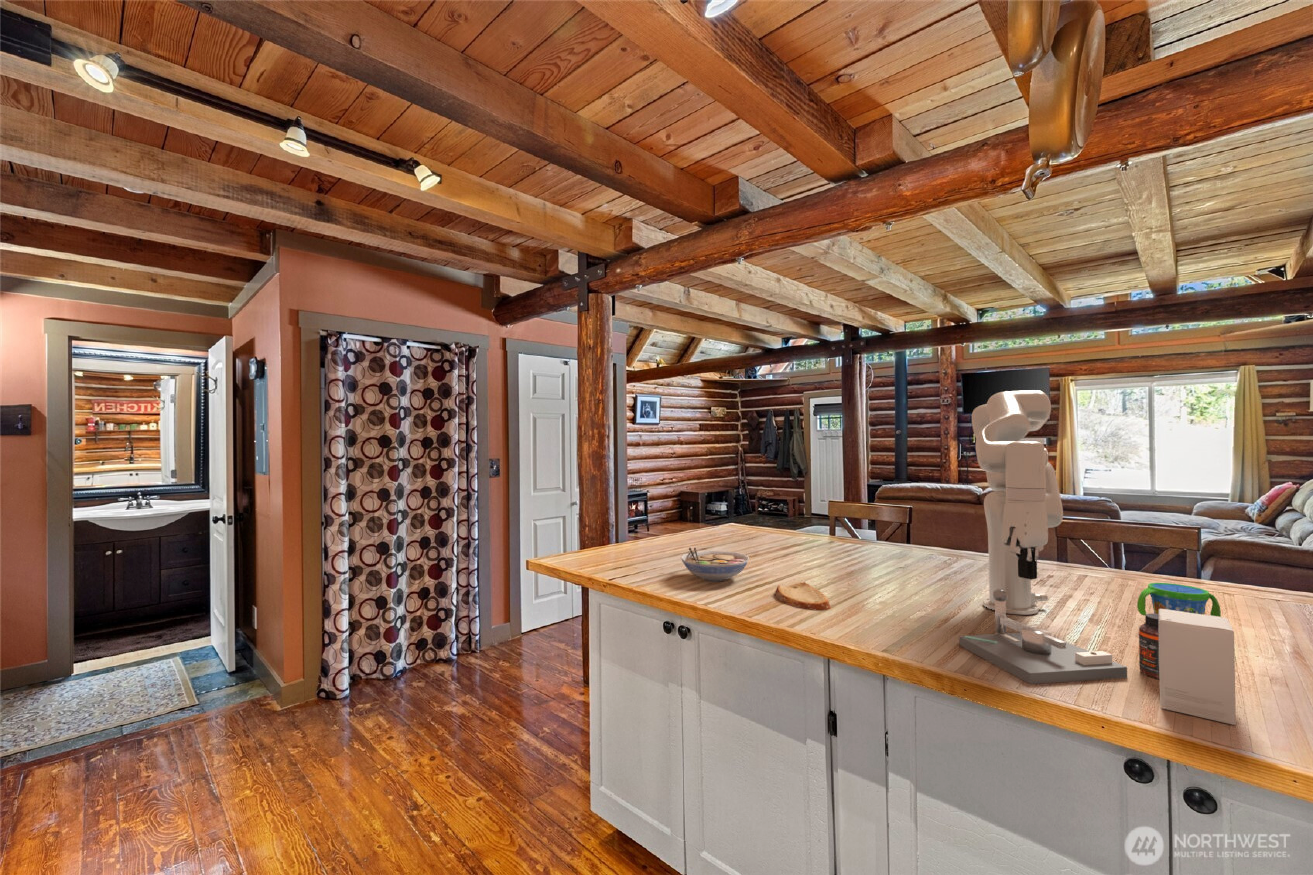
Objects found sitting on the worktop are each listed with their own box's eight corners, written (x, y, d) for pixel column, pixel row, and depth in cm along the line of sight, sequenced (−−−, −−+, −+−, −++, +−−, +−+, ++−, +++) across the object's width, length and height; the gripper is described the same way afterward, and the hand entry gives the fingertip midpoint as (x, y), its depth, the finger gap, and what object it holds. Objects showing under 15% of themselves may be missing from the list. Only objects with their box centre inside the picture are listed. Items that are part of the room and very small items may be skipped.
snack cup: (1205, 627, 132) (1204, 584, 132) (1236, 642, 122) (1235, 596, 122) (1126, 621, 137) (1125, 580, 137) (1150, 635, 127) (1149, 591, 127)
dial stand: (1041, 640, 124) (1041, 623, 124) (1127, 677, 104) (1126, 656, 105) (959, 645, 122) (958, 627, 122) (1030, 684, 102) (1030, 662, 102)
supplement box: (1238, 727, 86) (1235, 630, 86) (1160, 709, 92) (1158, 619, 92) (1231, 706, 93) (1229, 617, 93) (1159, 690, 99) (1157, 607, 99)
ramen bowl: (755, 588, 171) (755, 562, 171) (682, 589, 172) (681, 562, 172) (744, 570, 196) (743, 547, 196) (679, 570, 197) (679, 547, 197)
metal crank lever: (1075, 660, 107) (1074, 610, 107) (1051, 661, 107) (1050, 611, 107) (1006, 629, 125) (1005, 587, 125) (985, 630, 124) (985, 588, 124)
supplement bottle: (1131, 669, 108) (1129, 611, 108) (1158, 668, 109) (1157, 610, 109) (1161, 683, 102) (1160, 621, 102) (1190, 681, 103) (1189, 620, 103)
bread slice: (828, 613, 147) (828, 599, 147) (763, 604, 156) (763, 590, 156) (842, 596, 163) (841, 583, 163) (782, 589, 172) (782, 577, 172)
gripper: (1027, 494, 131) (1029, 571, 131) (988, 496, 125) (990, 578, 124) (1062, 496, 125) (1064, 578, 124) (1023, 498, 118) (1025, 584, 117)
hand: (1027, 577), depth 124 cm, fingers closed
